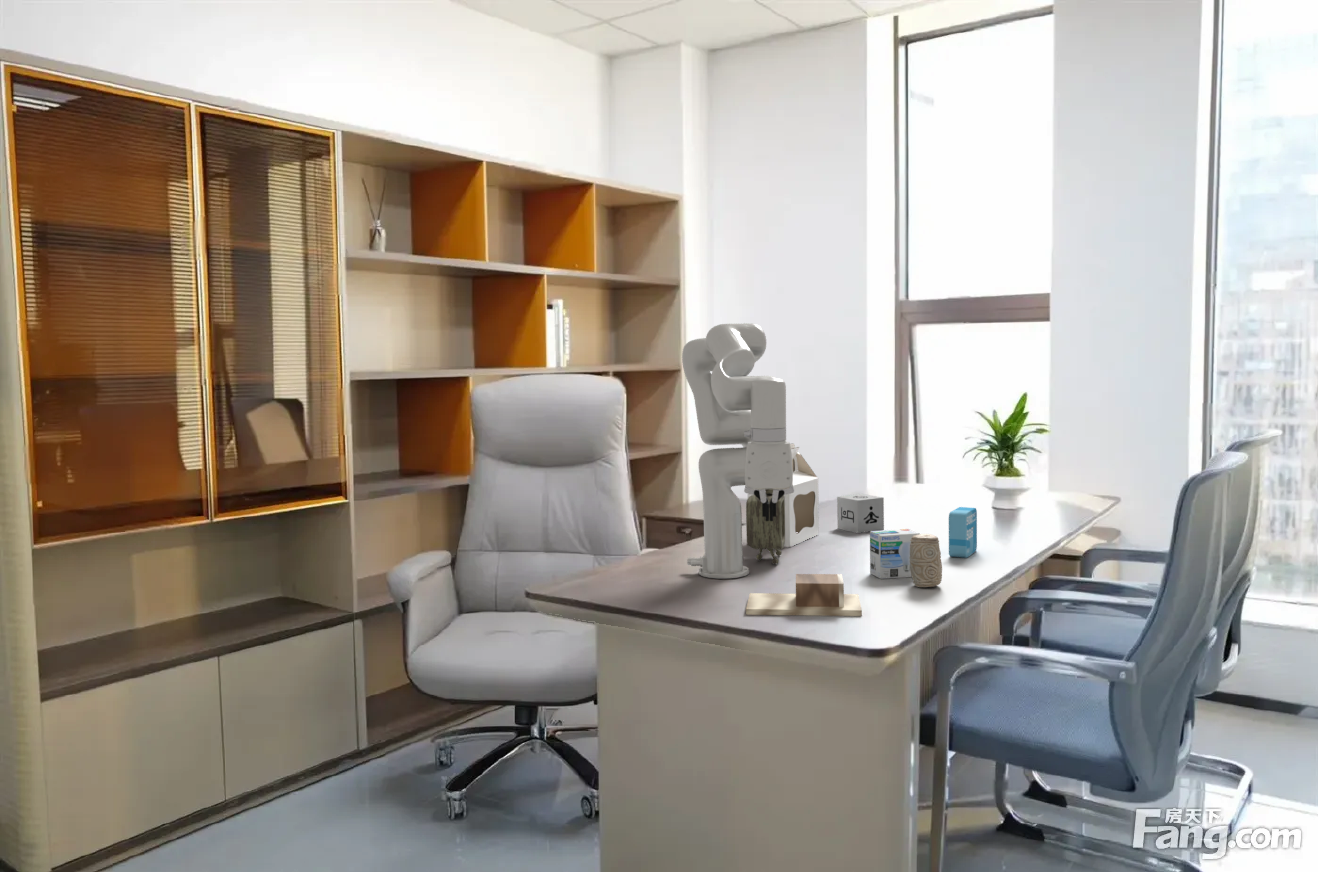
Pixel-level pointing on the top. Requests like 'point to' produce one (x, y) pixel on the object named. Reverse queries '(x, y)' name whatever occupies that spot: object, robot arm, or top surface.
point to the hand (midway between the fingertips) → (769, 520)
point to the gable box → (801, 502)
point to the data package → (962, 532)
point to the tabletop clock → (765, 526)
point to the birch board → (787, 606)
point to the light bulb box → (890, 553)
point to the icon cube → (860, 513)
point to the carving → (925, 560)
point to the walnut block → (819, 590)
